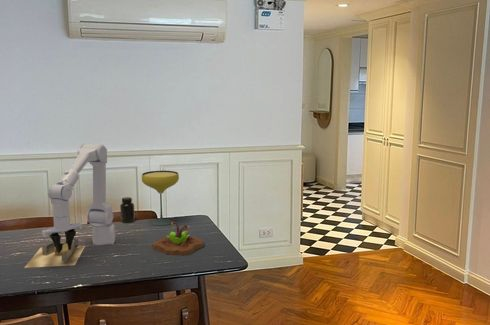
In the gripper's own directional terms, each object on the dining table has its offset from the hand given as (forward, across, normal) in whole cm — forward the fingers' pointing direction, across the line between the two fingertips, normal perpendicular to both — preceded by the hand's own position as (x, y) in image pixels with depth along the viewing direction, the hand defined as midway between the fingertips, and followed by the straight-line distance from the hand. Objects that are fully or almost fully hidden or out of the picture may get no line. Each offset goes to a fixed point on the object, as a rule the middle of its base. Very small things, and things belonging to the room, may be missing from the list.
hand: (63, 250), depth 179 cm
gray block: (+6, 0, -15) cm, 16 cm away
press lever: (+4, -5, -6) cm, 9 cm away
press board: (+6, -1, -9) cm, 11 cm away
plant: (+7, -44, +13) cm, 46 cm away
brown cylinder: (+5, -3, -10) cm, 12 cm away
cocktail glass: (+6, -60, -22) cm, 64 cm away
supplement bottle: (+6, -49, -36) cm, 61 cm away
